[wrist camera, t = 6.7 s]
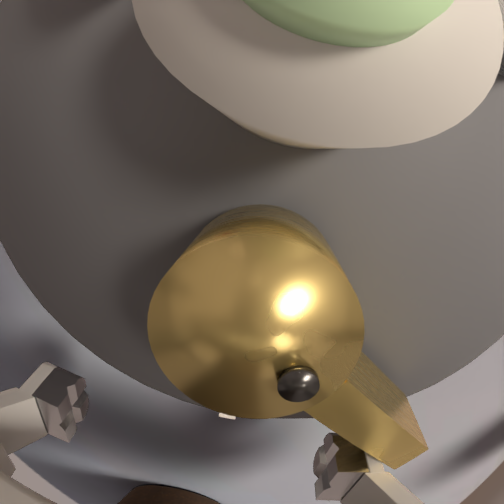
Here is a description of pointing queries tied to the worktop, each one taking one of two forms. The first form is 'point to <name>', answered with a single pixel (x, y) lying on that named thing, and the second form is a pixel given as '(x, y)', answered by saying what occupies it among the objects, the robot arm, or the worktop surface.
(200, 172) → the tribrach
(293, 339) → the knob brass
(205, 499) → the plant pot
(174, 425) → the worktop surface
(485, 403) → the worktop surface
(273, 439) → the worktop surface
